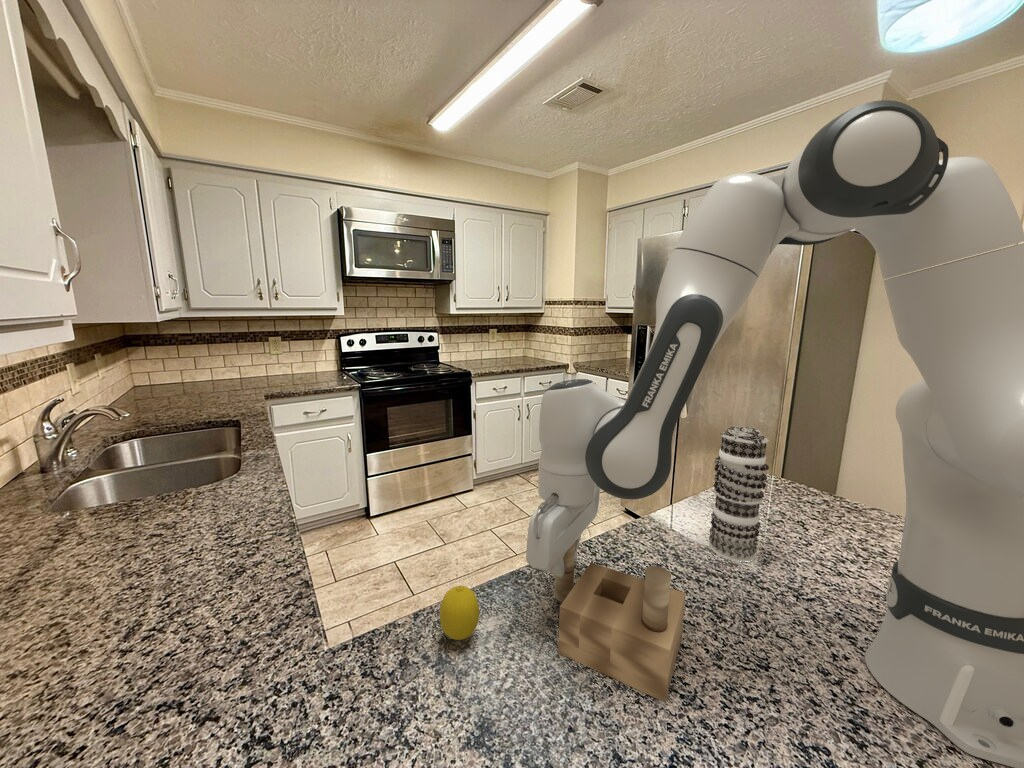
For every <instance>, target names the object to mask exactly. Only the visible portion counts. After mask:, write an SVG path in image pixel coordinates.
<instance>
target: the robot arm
mask: <svg viewBox="0 0 1024 768" xmlns="http://www.w3.org/2000/svg"><path fill="white" fill-rule="evenodd" d="M949 152H950V151H949V146H948V144H947V143H946V142H945V141H943V140H942V139H941V138H939V137H938V136H937V134H936V132H935V129H934V127H933V126H932V124H931V123H930V121H929V120H928V119H927V118H926V117H925V116H924V115H923V114H922V112H919V111H918V110H917V109H916V108H914V107H912V106H910V105H909V104H906V103H904V102H901V101H897V100H891V99H890V100H888V99H883V100H875V101H870V102H866V103H863V104H860V105H857V106H855V107H852V108H851V109H849V110H846V111H845V112H843V113H841V114H839V115H838V116H837V117H835V118H833V119H832V120H830V121H829V122H828V123H826V124H825V125H824V126H823V127H822V128H821V129H819V130H818V131H817V132H816V133H815V134H814V135H813V137H812V138H811V139H810V140H809V142H807V144H806V145H805V146H804V147H803V148H802V149H801V150H800V151H799V152H798V154H797V155H796V156H794V158H793V160H792V161H791V162H790V163H789V165H788V167H787V168H786V169H785V170H784V171H783V172H781V173H779V174H776V175H773V176H771V175H770V176H765V175H761V174H757V173H752V172H751V173H750V172H740V173H733V174H730V175H726V176H724V177H722V178H721V179H719V180H718V181H716V182H715V183H714V184H712V186H711V187H710V188H709V190H708V192H707V193H706V194H705V196H703V198H702V199H701V201H700V202H699V203H698V206H696V208H695V210H694V211H693V213H692V215H691V216H690V218H689V220H688V221H687V223H686V225H685V227H684V229H683V230H682V232H681V234H680V236H679V237H678V240H677V242H676V244H675V246H674V248H673V250H672V252H671V254H670V256H669V259H668V261H667V264H666V265H665V268H664V271H663V274H662V277H661V279H660V283H659V287H658V290H657V296H656V300H655V301H656V302H655V329H654V333H653V338H652V342H651V344H650V348H649V349H648V353H647V356H646V357H645V359H644V362H643V364H642V366H641V368H640V370H639V372H638V375H637V376H636V378H635V381H634V382H633V386H632V388H631V390H630V392H629V393H628V396H627V398H626V399H623V398H620V397H618V396H616V395H614V394H611V393H610V392H608V391H607V390H604V389H603V388H601V387H600V386H599V385H598V384H596V383H595V381H593V380H591V379H586V378H580V379H579V378H578V379H577V378H576V379H568V380H563V381H560V382H557V383H554V384H553V385H550V386H549V387H548V388H547V389H546V390H545V391H544V393H543V395H542V399H541V403H540V411H539V420H538V421H539V424H538V439H539V443H540V449H541V451H540V452H541V453H540V457H539V459H538V482H537V483H538V487H537V493H538V496H539V497H540V498H541V499H542V500H544V501H542V502H541V503H540V504H539V505H538V507H537V509H536V510H535V511H534V512H533V513H532V514H531V517H530V519H529V522H528V529H527V538H526V549H525V550H526V553H525V559H526V562H527V564H528V565H529V566H530V567H532V568H534V569H537V570H541V571H543V572H550V571H551V573H552V575H553V576H555V575H556V576H558V577H562V576H563V574H564V573H565V572H566V562H564V560H563V557H564V556H565V553H566V552H567V551H568V549H569V548H570V547H571V546H572V545H573V543H574V542H575V556H574V561H576V559H578V549H579V546H580V542H581V538H582V534H583V533H584V531H586V529H587V528H588V527H589V526H590V525H591V523H592V522H593V521H594V520H595V519H596V516H597V514H598V510H599V506H600V505H599V504H600V496H601V494H600V493H601V490H602V491H604V492H605V493H606V494H608V495H610V496H613V497H615V498H618V499H622V500H623V499H624V500H639V499H640V500H641V499H644V498H648V497H650V496H652V495H654V494H655V493H657V492H658V491H660V489H661V488H663V486H664V485H665V484H666V482H667V481H668V478H669V476H670V474H671V470H672V460H673V459H672V456H673V455H672V448H673V447H672V446H673V445H672V443H673V436H674V432H675V428H676V425H677V423H678V421H679V418H680V416H681V414H682V412H683V410H684V408H685V405H686V404H687V401H688V400H689V397H690V395H691V393H692V391H693V389H694V387H695V384H696V382H697V380H698V378H699V376H700V374H701V372H702V371H703V368H704V365H705V364H706V362H707V360H708V358H709V355H710V354H711V353H712V351H713V349H714V348H715V346H716V344H718V342H719V340H720V339H721V337H722V336H723V334H724V333H725V331H726V330H727V328H728V327H729V326H730V324H731V323H732V321H734V319H735V318H736V316H737V314H738V313H739V311H740V310H741V308H742V307H743V306H744V304H745V302H746V301H747V299H748V297H749V295H750V294H751V292H752V290H753V288H754V286H755V284H756V283H757V281H758V279H759V277H760V275H761V273H762V272H763V270H764V268H765V266H766V265H765V264H766V263H767V260H768V259H769V257H770V256H771V254H772V253H773V252H774V250H775V249H776V247H778V245H790V246H792V245H793V246H810V245H811V246H813V245H819V244H822V243H825V242H828V241H831V240H833V239H835V238H837V237H838V236H842V235H843V234H846V233H849V232H850V231H852V230H854V231H856V232H858V233H859V234H861V235H862V236H863V237H864V238H865V239H866V240H867V241H869V243H870V244H871V246H872V247H873V249H874V251H875V253H876V254H877V256H878V264H879V267H880V272H881V278H882V280H883V285H884V288H885V293H886V296H887V300H888V305H889V308H890V309H889V310H890V312H891V316H892V321H893V323H894V326H895V327H894V328H895V331H896V335H897V339H898V342H899V343H900V346H901V347H902V348H903V350H905V352H906V353H907V354H908V355H909V356H910V358H911V360H912V362H914V364H915V366H916V368H917V369H918V372H919V373H920V375H921V377H922V379H923V380H921V381H918V382H916V383H914V384H912V385H910V386H909V387H908V388H907V389H906V390H905V391H904V392H903V393H902V394H901V396H899V398H898V400H897V402H896V405H895V418H896V421H897V424H898V426H899V429H900V432H901V441H902V444H901V445H902V460H903V461H902V462H903V463H902V464H903V472H904V484H905V517H904V524H903V530H902V535H901V536H902V537H901V542H900V547H899V556H898V560H897V561H895V562H894V563H893V565H892V568H891V574H890V576H889V578H888V583H887V588H886V598H885V599H886V606H887V609H886V612H885V615H884V618H883V620H882V623H881V624H880V627H879V630H878V631H877V634H876V636H875V637H874V639H873V641H872V642H871V644H870V645H869V646H868V647H867V649H866V650H865V653H864V661H865V665H866V666H867V669H868V670H869V672H870V673H871V675H872V676H873V678H874V679H875V680H876V681H877V683H879V685H881V687H882V688H884V690H886V691H887V693H889V694H890V695H891V696H893V697H894V699H896V700H897V701H899V702H900V703H901V704H903V705H904V706H906V707H907V708H909V709H910V710H911V711H913V712H914V713H916V714H917V715H919V716H920V717H922V718H923V719H925V720H926V721H927V722H929V723H930V724H932V725H933V726H935V728H937V729H938V730H939V731H940V732H941V733H942V734H943V735H944V736H945V737H946V738H947V739H948V740H950V741H951V742H952V743H953V744H955V746H956V747H958V748H959V749H961V750H962V751H963V752H965V753H966V754H968V755H971V756H974V757H976V758H979V759H983V760H986V761H990V762H993V763H997V764H1001V765H1003V766H1006V767H1007V766H1008V767H1011V768H1024V229H1023V225H1022V222H1021V218H1020V217H1019V213H1018V211H1017V208H1016V206H1015V204H1014V203H1013V200H1012V198H1011V195H1010V194H1009V192H1008V190H1007V188H1006V187H1005V185H1004V183H1003V181H1002V179H1001V178H1000V176H999V174H998V173H997V171H996V170H995V168H994V167H993V166H992V165H991V163H989V162H988V161H986V160H985V159H982V158H980V157H977V156H953V157H949V156H950V155H949V154H950V153H949ZM940 153H942V159H940V157H941V156H940ZM1015 244H1016V245H1015Z"/></svg>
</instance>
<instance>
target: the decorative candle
mask: <svg viewBox="0 0 1024 768" xmlns="http://www.w3.org/2000/svg"><path fill="white" fill-rule="evenodd" d="M719 435H720V436H721V442H720V448H719V451H718V456H716V457H715V460H714V463H715V467H714V468H713V469H714V471H715V474H714V483H713V486H712V487H713V488H714V489H713V492H714V494H715V503H714V504H713V511H712V513H711V515H710V516H711V520H710V524H711V527H710V528H709V533H710V535H709V536H708V539H709V542H708V546H709V545H710V548H711V549H712V550H713V551H714V552H715V553H716V554H718V555H720V556H721V557H724V558H726V559H725V560H727V559H729V560H728V561H730V560H734V561H739V562H740V561H741V562H745V561H751V560H754V559H755V558H757V552H758V551H757V550H758V549H759V548H758V545H759V539H758V538H757V537H759V534H760V531H759V529H760V528H761V523H760V522H759V521H760V504H762V503H763V501H764V497H765V493H764V492H763V491H761V489H765V488H767V487H766V486H767V483H765V482H764V481H766V480H767V479H768V476H767V475H766V474H765V473H764V472H765V471H768V470H770V466H769V464H767V462H768V460H767V455H766V452H767V451H766V450H767V443H769V441H770V440H769V439H768V438H767V437H765V436H764V434H763V432H761V431H760V430H759V429H756V428H752V427H746V426H729V427H728V428H727V429H726V430H725V431H724V432H721V433H720V434H719ZM710 548H709V549H710ZM715 553H714V554H715ZM716 554H715V555H716ZM718 555H717V556H718ZM720 556H719V557H720ZM721 557H720V558H721ZM724 558H723V559H724ZM755 560H756V559H755ZM734 561H733V562H734ZM739 562H738V563H739Z"/></svg>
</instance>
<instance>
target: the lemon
mask: <svg viewBox="0 0 1024 768" xmlns="http://www.w3.org/2000/svg"><path fill="white" fill-rule="evenodd" d="M479 619H480V605H479V601H478V598H477V595H476V594H475V592H474V590H472V589H471V588H469V587H468V586H465V585H456V586H453V587H452V588H450V589H448V590H447V592H446V593H445V594H444V596H443V598H442V600H441V604H440V609H439V622H440V625H441V629H442V631H443V632H444V634H445V635H446V636H447V637H449V638H450V639H453V640H456V641H460V640H465V639H467V638H469V637H470V636H471V635H472V634H473V633H474V632H475V630H476V628H477V626H478V625H479V621H480V620H479Z"/></svg>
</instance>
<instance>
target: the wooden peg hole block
mask: <svg viewBox="0 0 1024 768" xmlns="http://www.w3.org/2000/svg"><path fill="white" fill-rule="evenodd" d="M644 573H645V574H644V579H643V578H640V577H637V576H634V575H631V574H628V573H625V572H622V571H619V570H616V569H613V568H610V567H607V566H603V565H599V564H596V563H594V562H589V564H588V566H587V567H586V569H585V570H584V572H583V573H582V574H581V576H580V577H579V579H578V580H577V582H576V583H574V587H573V589H572V590H571V591H570V593H569V594H568V596H567V597H566V598H565V600H564V601H563V602H562V603H561V604H560V606H559V617H558V618H559V619H558V645H557V648H558V649H557V653H558V654H559V655H561V656H564V657H566V658H568V659H570V660H572V661H575V662H577V663H579V664H581V665H583V666H585V667H588V668H590V669H592V670H594V671H596V672H598V673H600V674H602V675H605V676H606V677H609V678H611V679H614V680H615V681H617V682H619V683H622V684H625V685H626V686H629V687H631V688H633V689H635V690H637V691H639V692H642V693H644V694H646V695H648V696H651V697H653V698H655V699H657V700H659V701H661V702H664V703H667V699H668V694H669V690H670V687H671V682H672V678H673V674H674V669H675V667H676V666H675V665H676V662H677V658H678V653H679V649H680V646H681V642H682V639H683V638H682V636H683V627H684V626H683V625H684V613H685V601H686V592H683V591H680V590H677V589H673V588H672V587H671V581H672V580H671V579H672V573H671V572H670V570H668V569H666V568H665V567H663V566H659V565H649V566H647V567H645V572H644Z"/></svg>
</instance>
